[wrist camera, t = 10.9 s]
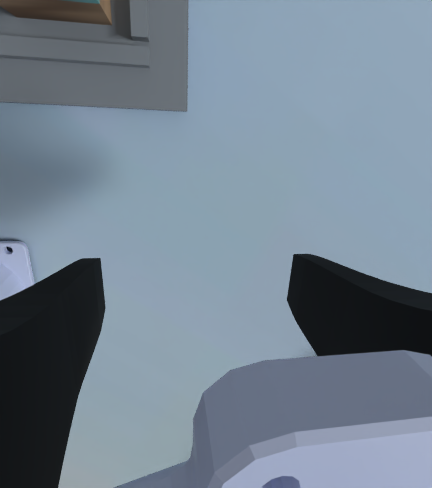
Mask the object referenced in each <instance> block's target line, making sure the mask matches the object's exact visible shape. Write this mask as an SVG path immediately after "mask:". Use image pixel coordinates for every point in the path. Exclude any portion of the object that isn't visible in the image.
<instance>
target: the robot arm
mask: <svg viewBox="0 0 432 488" xmlns="http://www.w3.org/2000/svg"><path fill="white" fill-rule="evenodd" d="M7 247H11V248H12V250H13V252H10V251H8V250H7ZM287 301H288V304H289V306H290V309H291V311H292V314H293V316H294V318H295V320H296V322H297V324H298V325H299V327H300V329H301V330H302V332H303V334H304V335H305V337H306V338H307V340H308V342H309V343H310V345H311V346H312V348H313V349H314V351H315V353H316V354H317V357H304V358H290V359H277V360H265V361H260V362H257V363H253V364H250V365H247V366H243V367H240V368H236V369H233V370H230V371H229V372H227V373H226V374H225V375H224V376H223V377H221V378H220V379H219V380H218V381H217V382H215V383H214V384H213V385H212V386H210V387H209V388H208V389H207V390H206V391H204V392H203V395H202V397H201V400H200V403H199V405H198V408H197V410H196V413H195V416H194V418H193V447H192V451H191V456H190V458H189V460H187V461H185V462H183V463H180V464H177V465H174V466H172V467H169V468H166V469H163V470H161V471H158V472H155V473H153V474H150V475H147V476H144V477H142V478H139V479H136V480H133V481H131V482H128V483H125V484H122V485H120V486H117V487H114V488H432V293H428V292H423V291H419V290H415V289H411V288H407V287H404V286H400V285H397V284H393V283H390V282H387V281H383V280H380V279H378V278H375V277H372V276H369V275H366V274H363V273H361V272H358V271H355V270H353V269H350V268H348V267H345V266H343V265H340V264H338V263H335V262H332V261H330V260H327V259H325V258H322V257H319V256H315V255H311V254H294V255H293V262H292V269H291V276H290V282H289V289H288V296H287ZM104 313H105V299H104V289H103V279H102V269H101V260H100V258H84V259H80V260H77V261H75V262H73V263H72V264H70V265H68V266H66V267H65V268H63V269H61V270H59V271H58V272H56V273H54V274H52V275H51V276H49V277H47V278H45V279H43V280H41V281H40V282H38V283H36V284H35V283H34V277H33V272H32V267H31V262H30V257H29V251H28V247H27V245H26V244H25V243H23V242H21V241H0V488H58V485H59V480H60V475H61V470H62V465H63V460H64V455H65V451H66V446H67V442H68V437H69V433H70V428H71V424H72V420H73V415H74V411H75V407H76V403H77V399H78V395H79V392H80V389H81V386H82V383H83V380H84V377H85V374H86V372H87V369H88V366H89V363H90V360H91V358H92V355H93V352H94V349H95V346H96V344H97V341H98V338H99V335H100V332H101V328H102V323H103V318H104Z"/></svg>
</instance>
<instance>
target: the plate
mask: <svg viewBox="0 0 432 488" xmlns="http://www.w3.org/2000/svg"><path fill="white" fill-rule="evenodd" d="M110 3H111V17H112V25H101V24H89V23H77V22H65V21H53V20H41V19H29V18H17V17H15V16H14V15H13V14H11V13H10V12H8V11H7V10H5V9H4V8H2V7H1V6H0V102H10V103H29V104H49V105H68V106H88V107H107V108H127V109H146V110H166V111H185V112H186V111H187V83H188V0H110Z"/></svg>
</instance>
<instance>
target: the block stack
mask: <svg viewBox="0 0 432 488" xmlns="http://www.w3.org/2000/svg"><path fill="white" fill-rule="evenodd" d="M0 6H1V7H2V8H4V9H5V10H7V11H8V12H10V13H11V14H13V15H14V16H15V17H17V18H29V19H41V20H53V21H65V22H77V23H89V24H101V25H112V17H111V3H110V0H0Z"/></svg>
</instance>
